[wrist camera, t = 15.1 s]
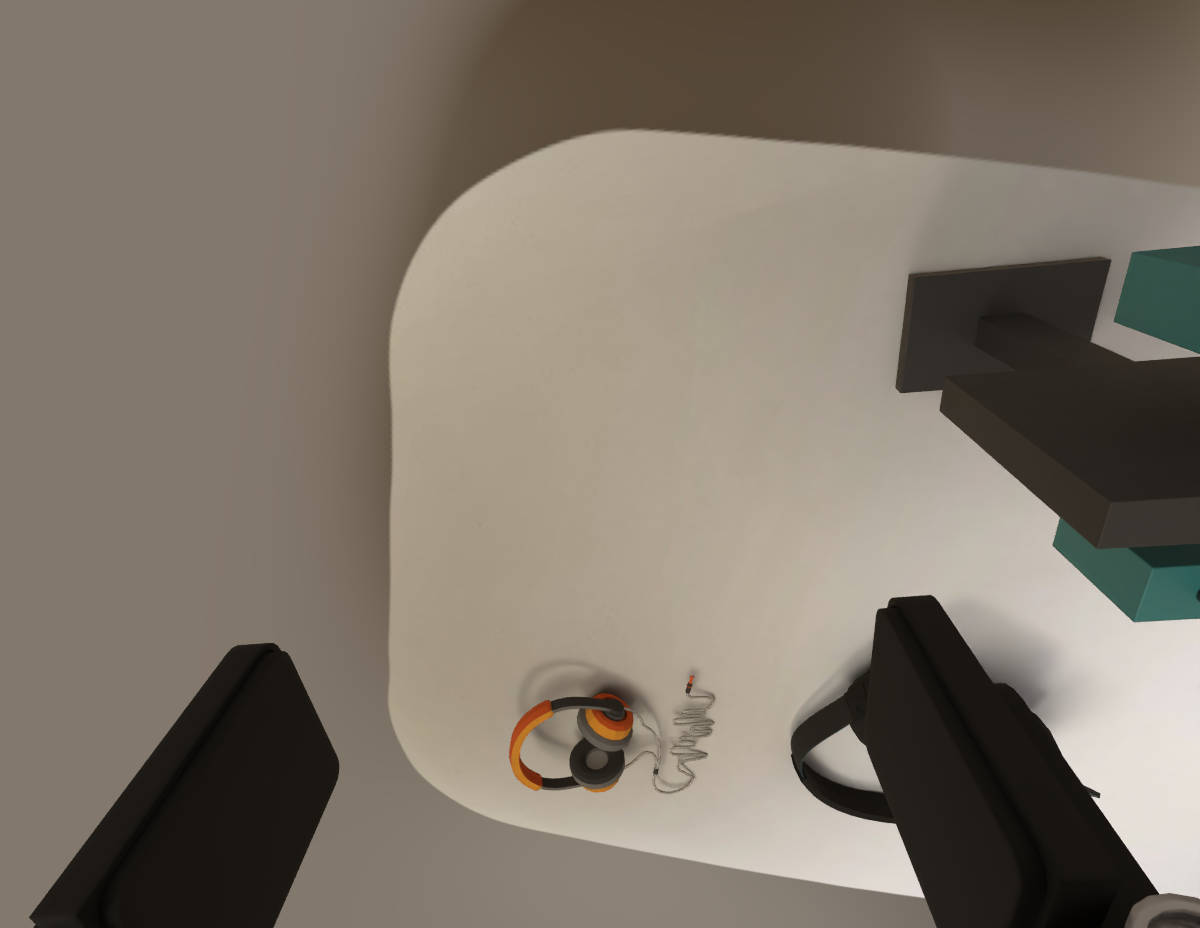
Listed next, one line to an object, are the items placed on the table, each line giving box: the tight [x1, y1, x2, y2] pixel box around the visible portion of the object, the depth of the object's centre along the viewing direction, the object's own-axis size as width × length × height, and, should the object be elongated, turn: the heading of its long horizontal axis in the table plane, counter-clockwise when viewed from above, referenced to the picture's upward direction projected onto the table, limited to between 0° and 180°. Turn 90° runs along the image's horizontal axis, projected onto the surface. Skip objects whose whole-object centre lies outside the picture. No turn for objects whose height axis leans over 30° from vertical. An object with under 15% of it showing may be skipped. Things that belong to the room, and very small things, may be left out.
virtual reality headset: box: [791, 671, 1100, 824], centre depth 57 cm, size 19×22×10 cm
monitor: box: [896, 257, 1200, 549], centre depth 32 cm, size 8×16×24 cm, turn 96°
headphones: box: [509, 675, 714, 794], centre depth 60 cm, size 17×5×20 cm
